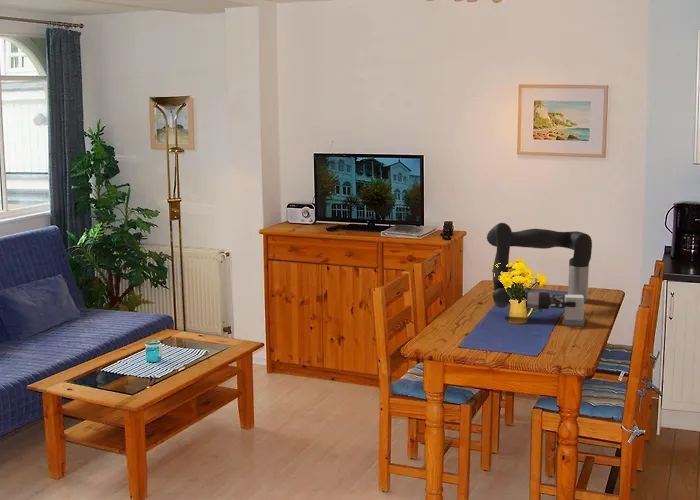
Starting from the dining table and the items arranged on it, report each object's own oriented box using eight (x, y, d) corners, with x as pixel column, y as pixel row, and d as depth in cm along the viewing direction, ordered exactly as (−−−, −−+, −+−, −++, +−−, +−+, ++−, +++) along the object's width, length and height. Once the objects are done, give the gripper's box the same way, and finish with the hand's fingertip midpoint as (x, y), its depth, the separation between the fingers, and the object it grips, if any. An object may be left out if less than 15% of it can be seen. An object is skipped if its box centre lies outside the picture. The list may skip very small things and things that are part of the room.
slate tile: (564, 316, 387) (564, 314, 387) (584, 318, 384) (584, 315, 384) (562, 325, 374) (562, 322, 374) (583, 326, 371) (583, 323, 371)
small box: (582, 317, 381) (583, 294, 379) (583, 321, 375) (584, 297, 373) (563, 317, 382) (564, 294, 380) (564, 320, 377) (565, 297, 375)
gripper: (537, 295, 375) (575, 297, 370) (539, 288, 388) (577, 290, 383) (536, 312, 376) (575, 314, 371) (539, 304, 389) (576, 306, 385)
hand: (576, 302), depth 377 cm, fingers open, 8 cm apart
